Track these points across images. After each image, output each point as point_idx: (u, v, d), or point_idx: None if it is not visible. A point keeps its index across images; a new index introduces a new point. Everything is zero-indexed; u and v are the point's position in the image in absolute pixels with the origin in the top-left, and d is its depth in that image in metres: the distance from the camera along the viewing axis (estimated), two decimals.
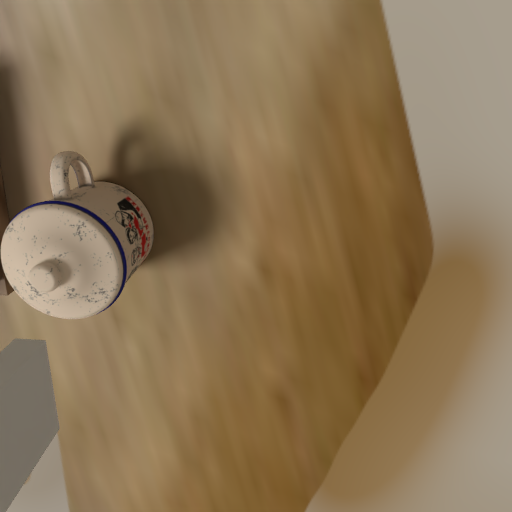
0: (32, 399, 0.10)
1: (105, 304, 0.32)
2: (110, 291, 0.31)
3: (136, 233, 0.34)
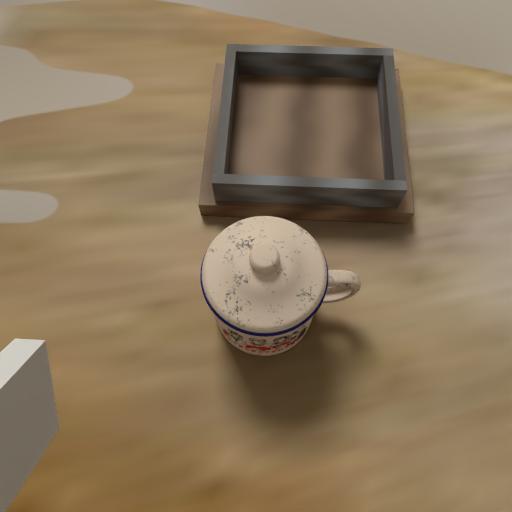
0: (32, 399, 0.10)
1: (220, 310, 0.29)
2: (237, 317, 0.29)
3: (278, 343, 0.33)
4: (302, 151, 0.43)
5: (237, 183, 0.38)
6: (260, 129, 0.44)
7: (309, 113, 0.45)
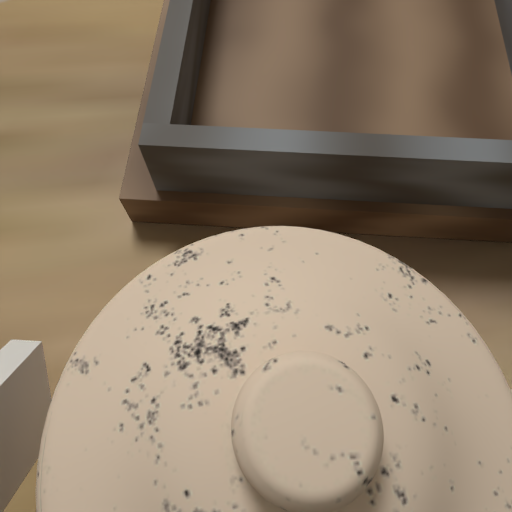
0: (28, 400, 0.10)
1: None
2: None
3: None
4: (347, 91, 0.21)
5: (201, 145, 0.16)
6: (261, 47, 0.22)
7: (358, 21, 0.22)
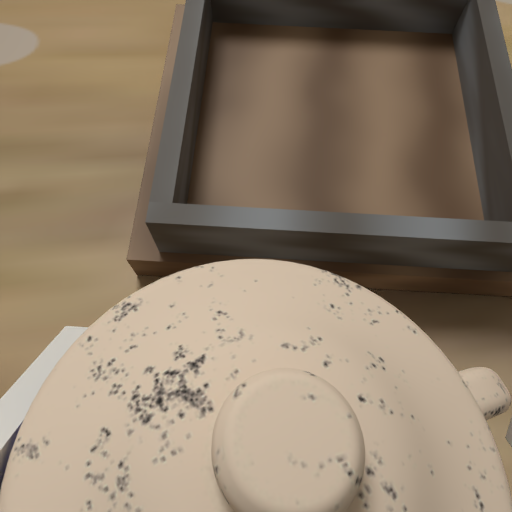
0: None
1: None
2: None
3: None
4: (327, 158, 0.23)
5: (199, 223, 0.18)
6: (251, 116, 0.24)
7: (338, 91, 0.25)
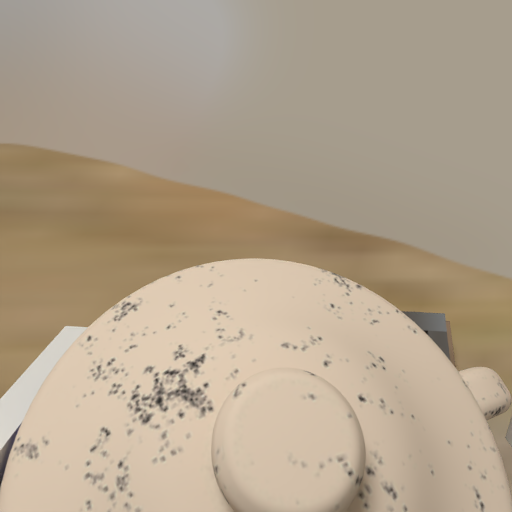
0: None
1: None
2: None
3: None
4: None
5: None
6: None
7: None
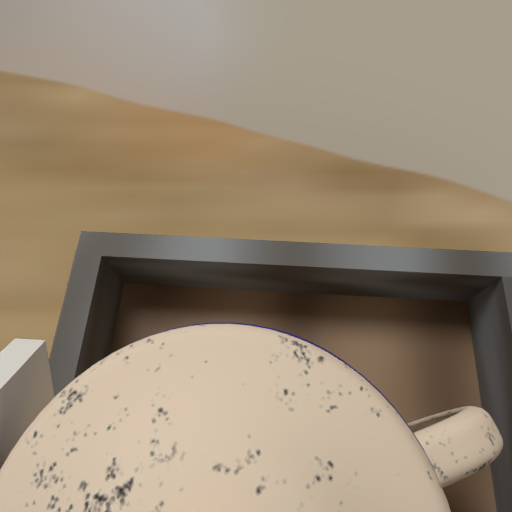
0: (32, 399, 0.10)
1: None
2: None
3: None
4: None
5: None
6: None
7: None
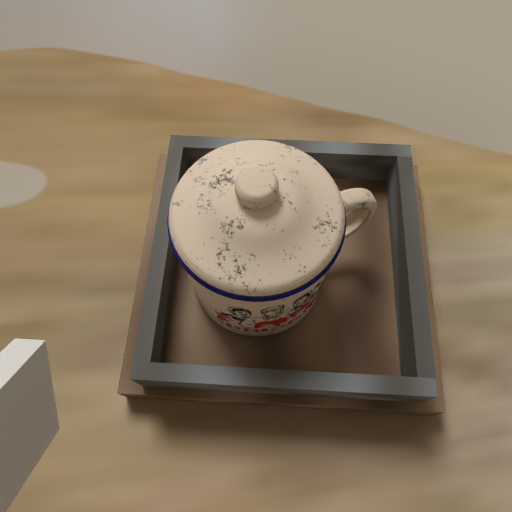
0: (32, 399, 0.10)
1: (216, 278, 0.20)
2: (242, 281, 0.20)
3: (297, 307, 0.24)
4: None
5: (170, 380, 0.24)
6: None
7: None
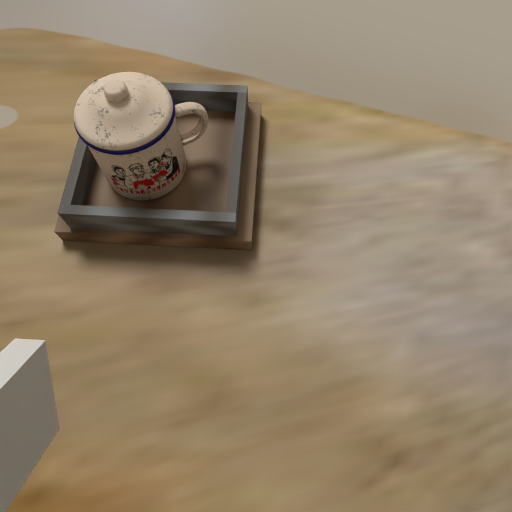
0: (32, 399, 0.10)
1: (95, 140, 0.37)
2: (108, 141, 0.37)
3: (155, 171, 0.41)
4: None
5: (81, 213, 0.41)
6: None
7: None
